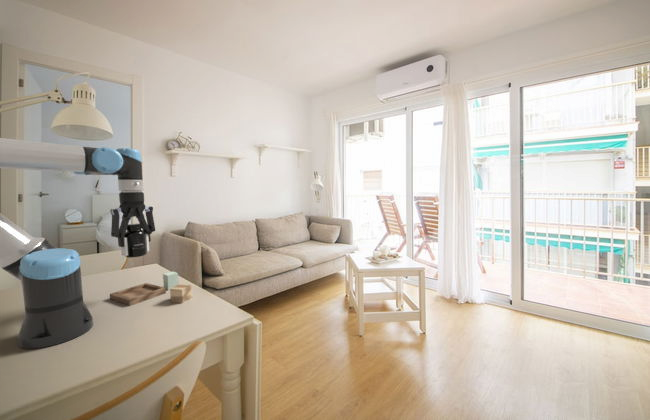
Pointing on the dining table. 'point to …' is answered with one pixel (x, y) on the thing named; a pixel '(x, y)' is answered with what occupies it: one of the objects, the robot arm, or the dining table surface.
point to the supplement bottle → (135, 241)
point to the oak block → (181, 293)
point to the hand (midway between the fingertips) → (135, 252)
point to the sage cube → (170, 280)
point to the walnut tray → (137, 294)
